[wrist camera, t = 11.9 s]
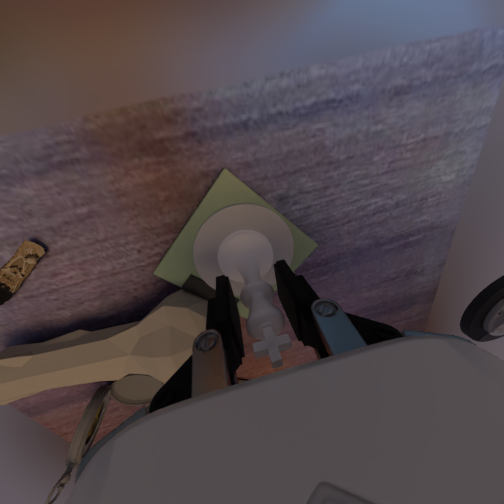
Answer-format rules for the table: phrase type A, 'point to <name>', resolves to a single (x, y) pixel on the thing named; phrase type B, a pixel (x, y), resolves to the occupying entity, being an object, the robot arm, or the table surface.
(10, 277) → the ornate gold black bar
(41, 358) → the faceted club
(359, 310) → the table surface
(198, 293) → the scale
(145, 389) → the pocket watch
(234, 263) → the chess piece
